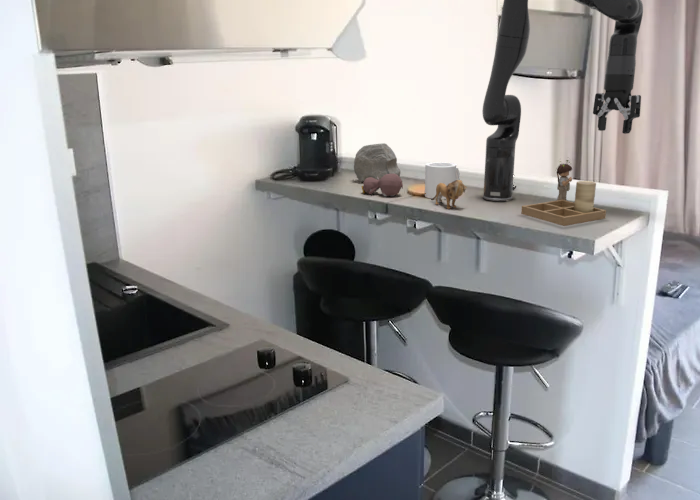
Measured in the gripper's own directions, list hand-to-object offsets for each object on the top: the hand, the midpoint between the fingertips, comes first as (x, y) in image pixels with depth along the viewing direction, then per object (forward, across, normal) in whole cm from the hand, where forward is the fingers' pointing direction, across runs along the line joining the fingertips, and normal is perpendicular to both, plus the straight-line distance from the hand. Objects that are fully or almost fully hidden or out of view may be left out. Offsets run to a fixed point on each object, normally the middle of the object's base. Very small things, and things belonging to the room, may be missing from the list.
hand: (613, 131), depth 180 cm
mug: (+24, -46, -26) cm, 58 cm away
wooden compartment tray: (+24, -3, -14) cm, 28 cm away
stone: (+24, -76, -35) cm, 87 cm away
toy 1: (+24, -57, -43) cm, 75 cm away
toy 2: (+24, -17, 0) cm, 30 cm away
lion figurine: (+24, -32, -33) cm, 52 cm away
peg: (+23, +1, -10) cm, 25 cm away
